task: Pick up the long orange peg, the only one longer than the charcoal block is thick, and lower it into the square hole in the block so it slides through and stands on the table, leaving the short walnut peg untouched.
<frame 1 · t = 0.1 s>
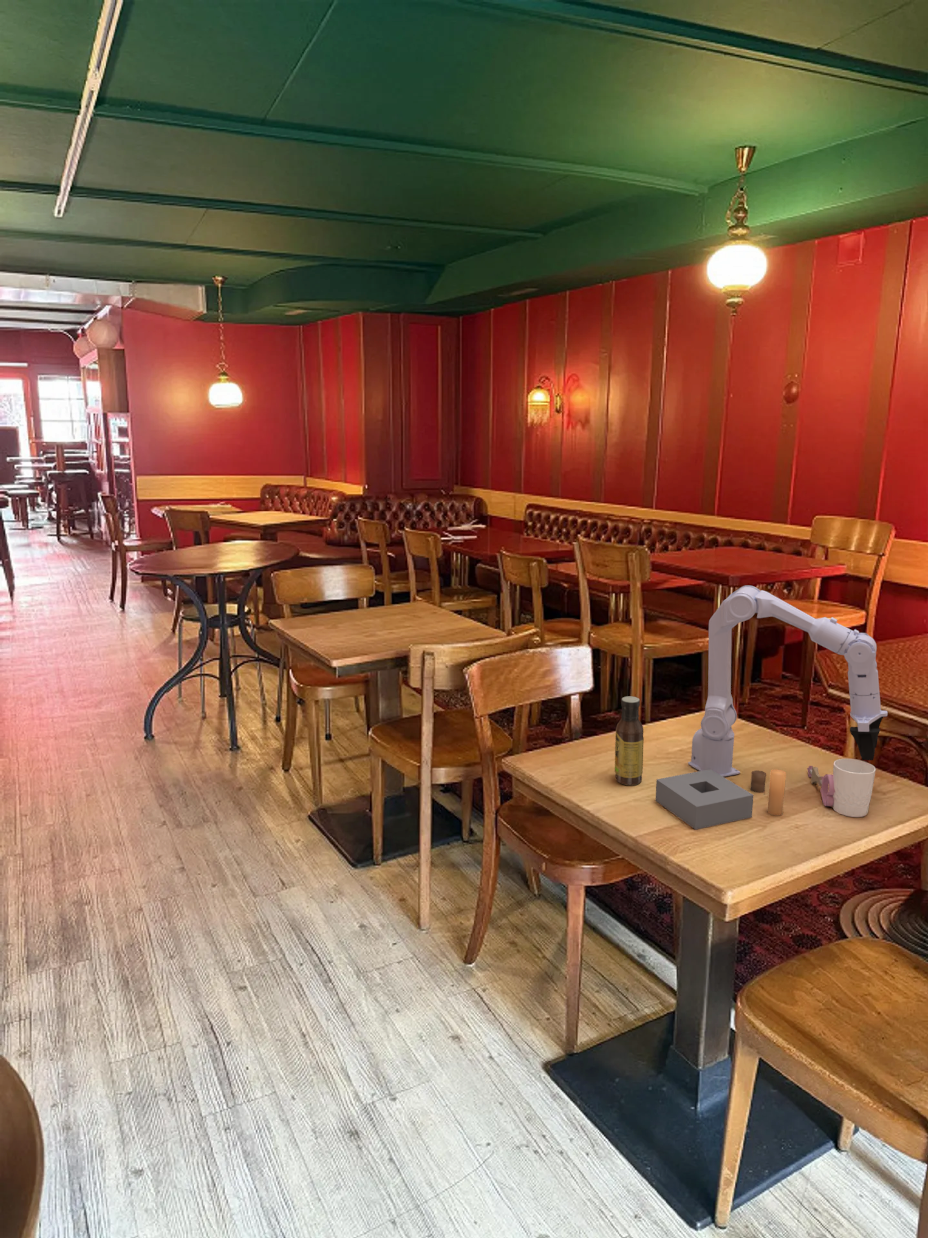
hand: (869, 753, 174), 11 cm above the table, tool pointing down, fingers open, 7 cm apart
long peg: (774, 812, 170), on the table
sauce bottle: (627, 781, 186), on the table
short peg: (757, 789, 181), on the table
white cup: (849, 811, 171), on the table, touching decorative key
decorative key: (817, 790, 180), on the table, touching white cup
bored block: (702, 808, 172), on the table
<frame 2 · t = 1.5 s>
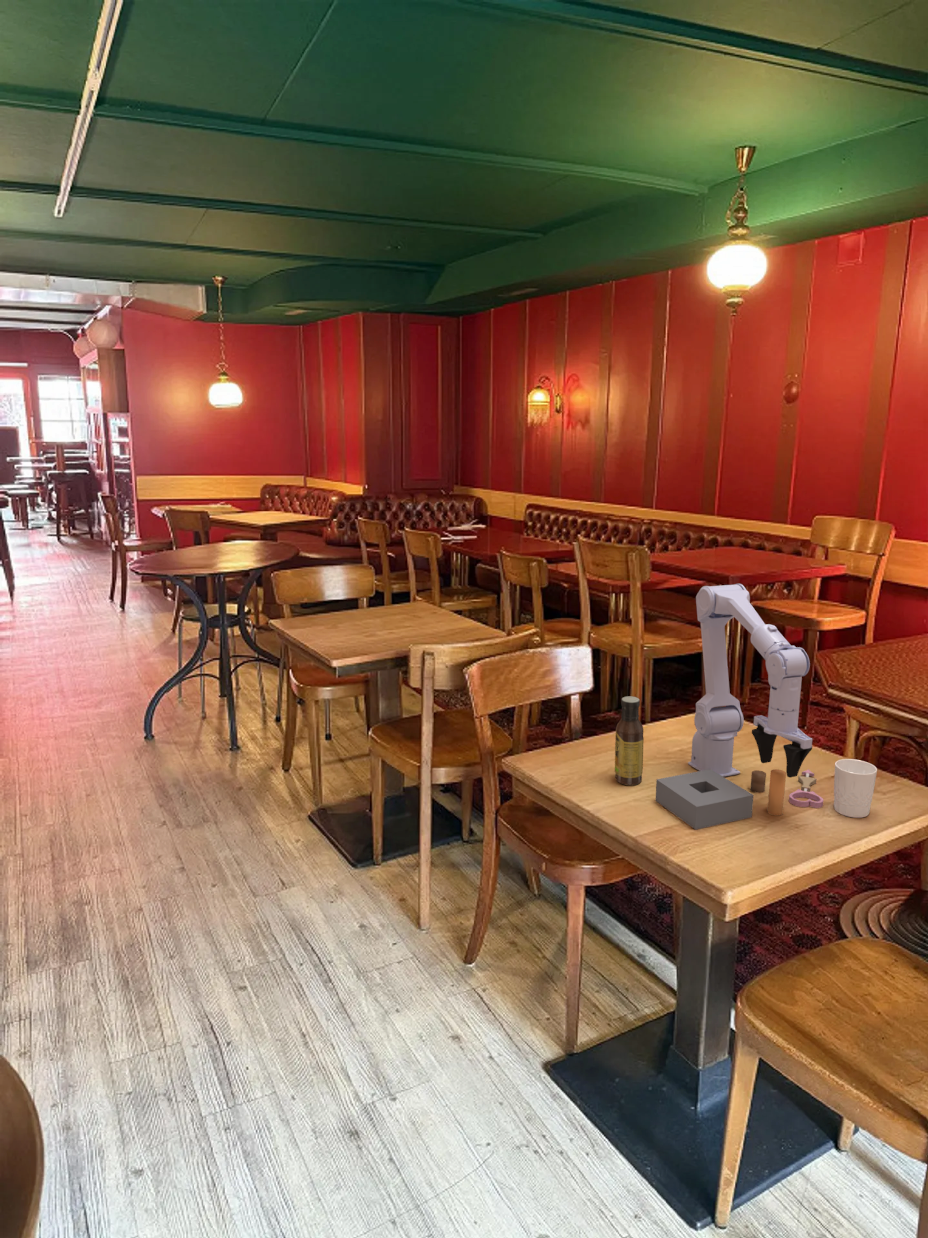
hand: (778, 769, 168), 10 cm above the table, tool pointing down, fingers open, 7 cm apart
white cup: (851, 811, 171), on the table
decorative key: (819, 787, 180), point 1 cm above the table
everything else where it was.
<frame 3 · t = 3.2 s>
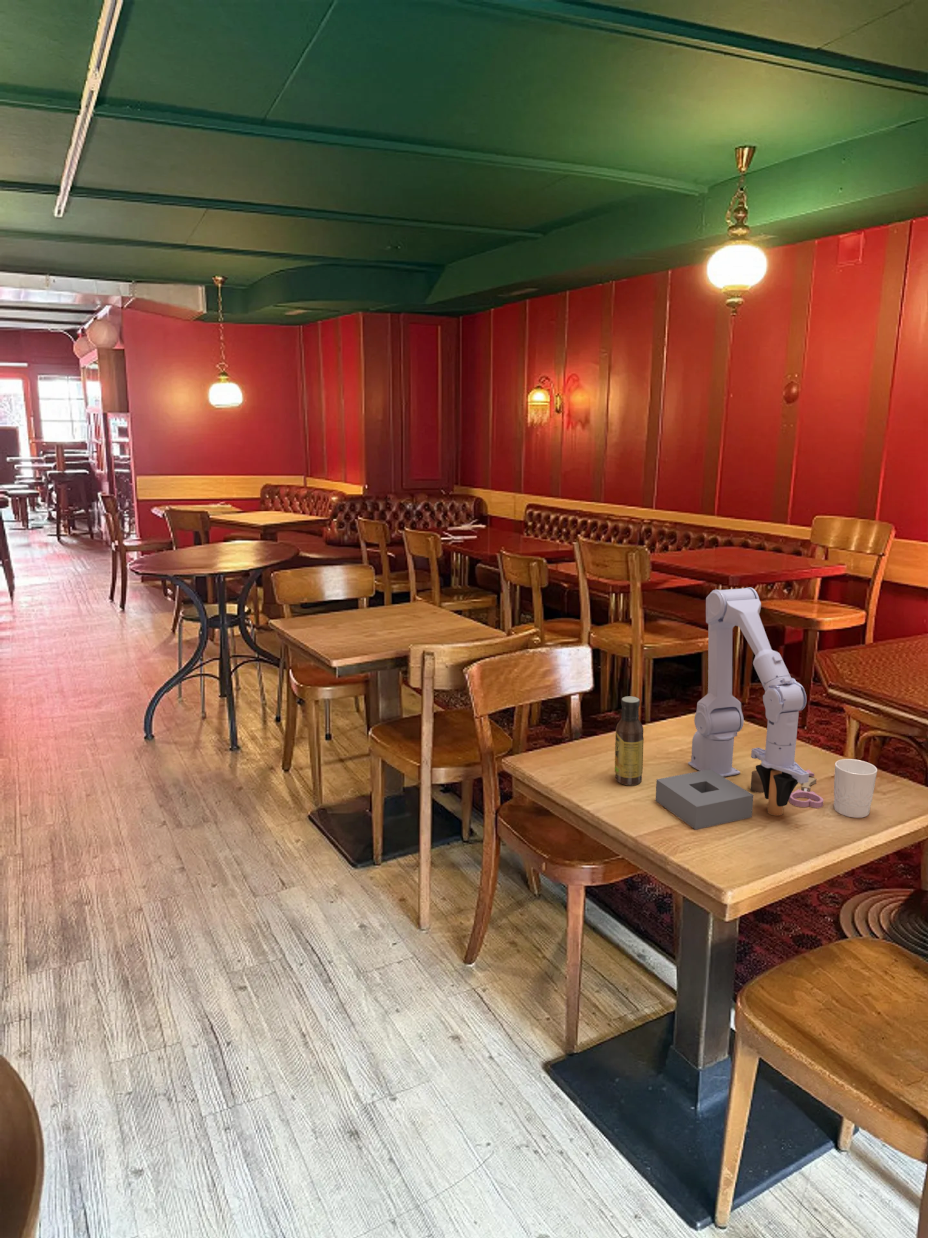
hand: (775, 801, 170), 2 cm above the table, tool pointing down, fingers closed on long peg, 3 cm apart
long peg: (774, 812, 170), on the table, touching gripper
everything else where it was.
when the fingers open (6 cm above the table, at t = 7.5 s): long peg drops 3 cm, resting in bored block.
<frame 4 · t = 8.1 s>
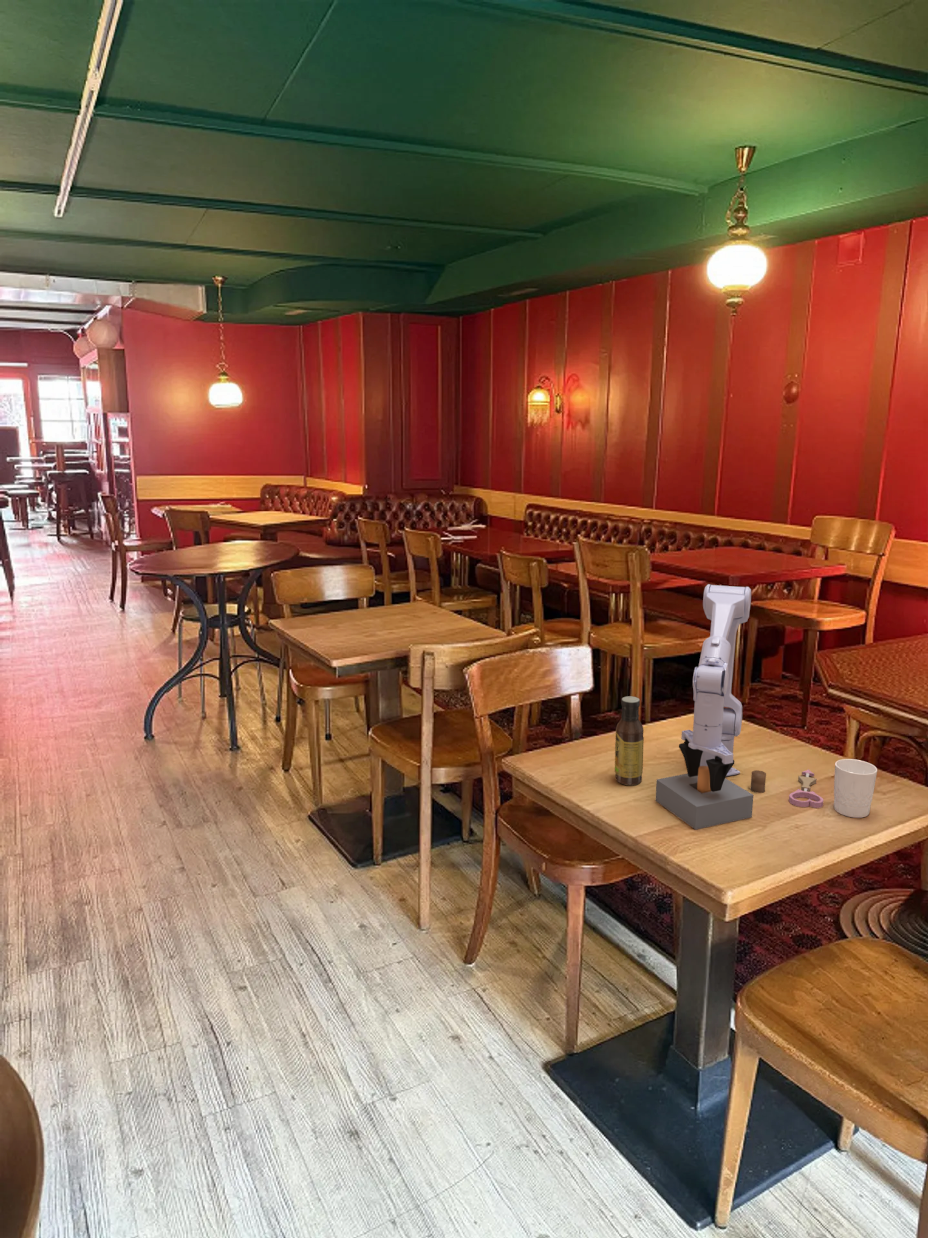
hand: (704, 783, 171), 6 cm above the table, tool pointing down, fingers open, 7 cm apart
long peg: (702, 808, 172), resting in bored block
everything else where it was.
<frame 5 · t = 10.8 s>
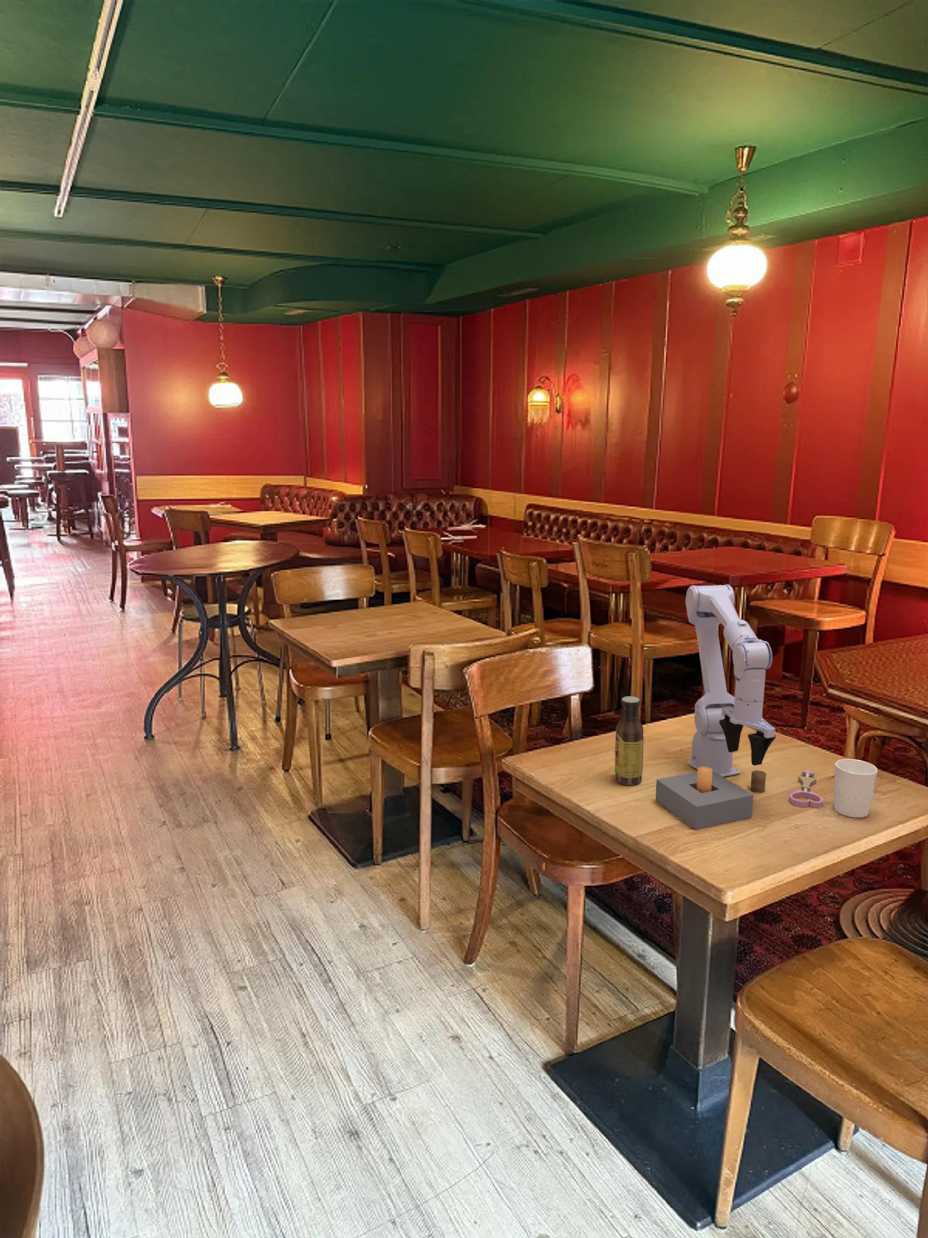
hand: (744, 757, 175), 9 cm above the table, tool pointing down, fingers open, 7 cm apart
nothing on the table moved.
at the end: long peg 0.0 cm off-centre on the bored block, point 0.0 cm above the bored block's base; long peg tilted 0°; short peg moved 0.0 cm from its start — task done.
